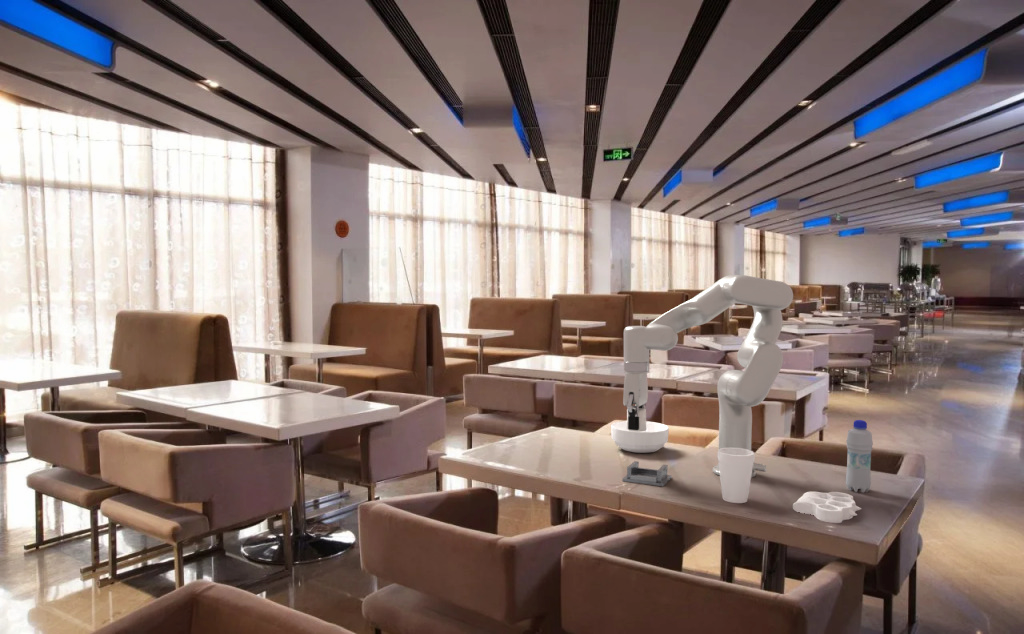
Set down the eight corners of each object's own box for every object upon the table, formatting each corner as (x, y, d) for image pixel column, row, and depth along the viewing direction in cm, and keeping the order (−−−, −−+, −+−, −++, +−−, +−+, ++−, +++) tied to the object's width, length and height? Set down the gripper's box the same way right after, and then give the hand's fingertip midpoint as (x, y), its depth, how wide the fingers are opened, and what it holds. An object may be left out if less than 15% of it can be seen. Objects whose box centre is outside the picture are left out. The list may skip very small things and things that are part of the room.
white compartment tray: (806, 498, 191) (865, 509, 182) (789, 516, 176) (852, 528, 168) (806, 486, 191) (866, 496, 182) (789, 503, 176) (853, 514, 168)
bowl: (638, 441, 257) (638, 418, 257) (680, 452, 241) (680, 427, 241) (599, 448, 246) (599, 424, 245) (640, 460, 230) (641, 434, 229)
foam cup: (731, 492, 195) (732, 446, 194) (760, 500, 187) (761, 452, 187) (709, 498, 189) (710, 450, 189) (738, 507, 182) (739, 457, 181)
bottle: (848, 485, 203) (850, 416, 202) (873, 489, 198) (876, 419, 197) (842, 490, 197) (844, 420, 196) (868, 495, 193) (870, 423, 192)
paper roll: (648, 428, 211) (648, 408, 210) (643, 432, 206) (642, 412, 205) (630, 427, 213) (630, 407, 213) (624, 430, 208) (624, 410, 208)
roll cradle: (671, 477, 209) (671, 464, 208) (663, 486, 200) (663, 472, 199) (632, 472, 214) (632, 459, 214) (622, 481, 205) (622, 467, 205)
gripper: (633, 363, 218) (633, 421, 219) (614, 370, 203) (615, 432, 204) (657, 364, 214) (657, 423, 215) (640, 371, 199) (640, 434, 200)
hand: (636, 427), depth 209 cm, fingers closed on paper roll, 5 cm apart
